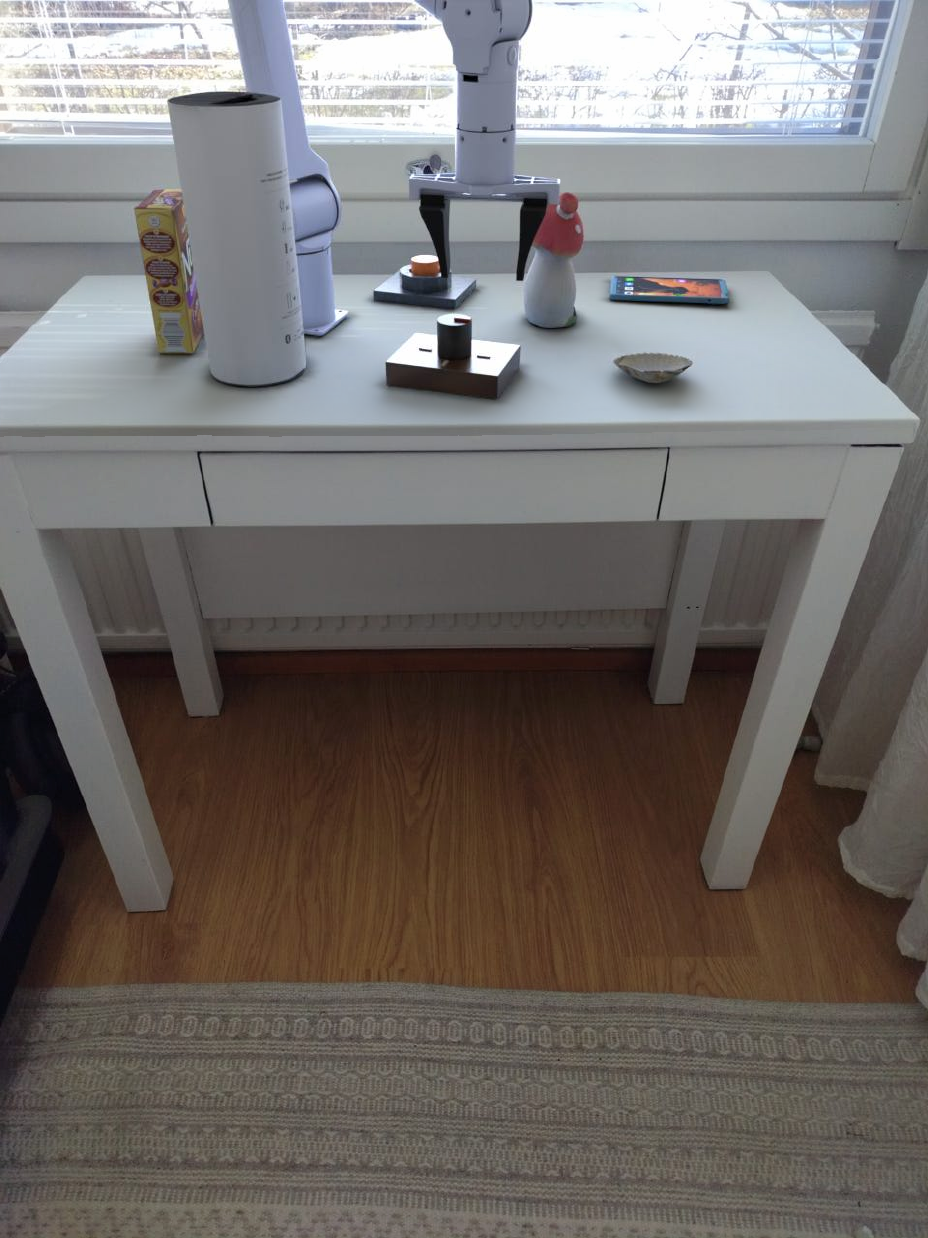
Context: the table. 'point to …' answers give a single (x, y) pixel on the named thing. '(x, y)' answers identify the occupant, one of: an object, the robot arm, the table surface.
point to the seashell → (653, 366)
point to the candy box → (169, 271)
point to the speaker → (241, 233)
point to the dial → (454, 336)
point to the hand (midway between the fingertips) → (482, 276)
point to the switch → (424, 265)
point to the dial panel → (453, 367)
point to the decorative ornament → (554, 266)
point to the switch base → (425, 289)
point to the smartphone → (669, 289)
